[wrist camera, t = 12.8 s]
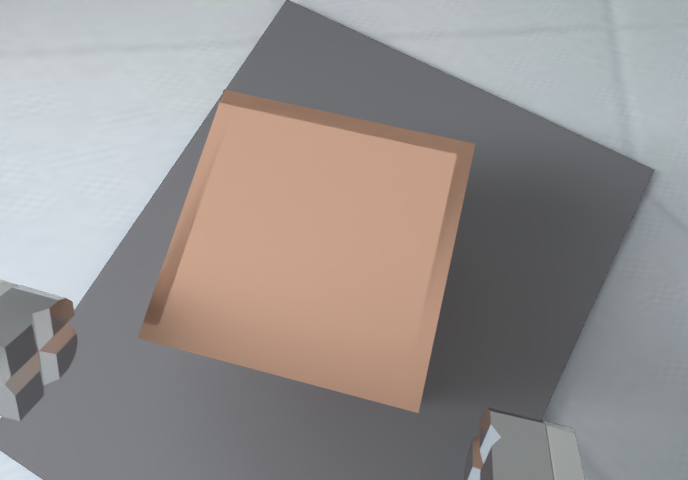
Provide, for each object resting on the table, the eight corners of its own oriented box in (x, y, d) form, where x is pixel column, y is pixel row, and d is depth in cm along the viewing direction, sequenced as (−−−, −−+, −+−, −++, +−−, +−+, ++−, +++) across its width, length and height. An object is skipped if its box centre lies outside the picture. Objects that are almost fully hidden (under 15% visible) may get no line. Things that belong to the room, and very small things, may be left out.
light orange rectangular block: (227, 360, 19) (137, 338, 12) (275, 202, 21) (223, 89, 13) (395, 404, 19) (418, 412, 11) (432, 238, 20) (475, 143, 13)
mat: (-7, 439, 19) (-128, 454, 15) (288, 6, 24) (269, -91, 19) (401, 717, 17) (417, 844, 12) (648, 174, 21) (731, 110, 16)
